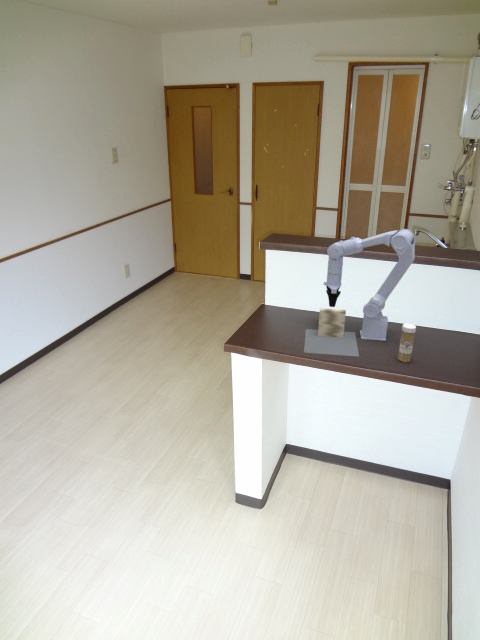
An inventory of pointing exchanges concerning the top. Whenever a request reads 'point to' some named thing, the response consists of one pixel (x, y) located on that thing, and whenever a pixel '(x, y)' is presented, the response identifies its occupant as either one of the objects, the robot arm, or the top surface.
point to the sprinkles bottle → (406, 342)
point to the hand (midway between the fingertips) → (331, 304)
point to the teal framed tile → (331, 322)
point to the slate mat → (331, 344)
